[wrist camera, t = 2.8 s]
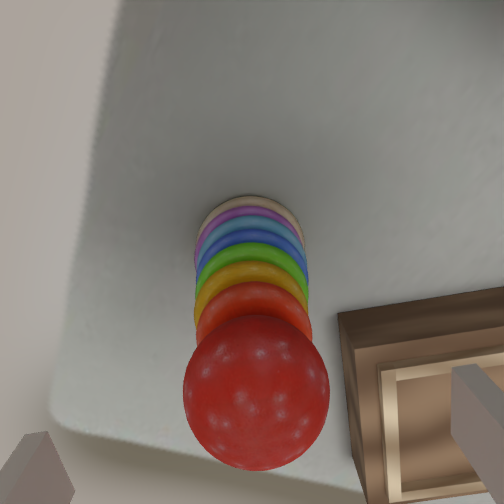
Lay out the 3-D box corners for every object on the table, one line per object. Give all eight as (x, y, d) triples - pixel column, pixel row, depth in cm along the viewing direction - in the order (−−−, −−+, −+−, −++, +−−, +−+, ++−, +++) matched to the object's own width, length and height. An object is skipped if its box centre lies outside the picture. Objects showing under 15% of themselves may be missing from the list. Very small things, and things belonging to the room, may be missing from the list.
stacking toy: (322, 254, 29) (443, 473, 11) (240, 310, 31) (236, 579, 13) (261, 171, 27) (294, 286, 9) (175, 236, 28) (64, 442, 11)
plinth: (337, 313, 31) (357, 356, 25) (537, 281, 30) (601, 318, 25) (352, 457, 36) (371, 518, 31) (521, 433, 36) (571, 490, 30)
